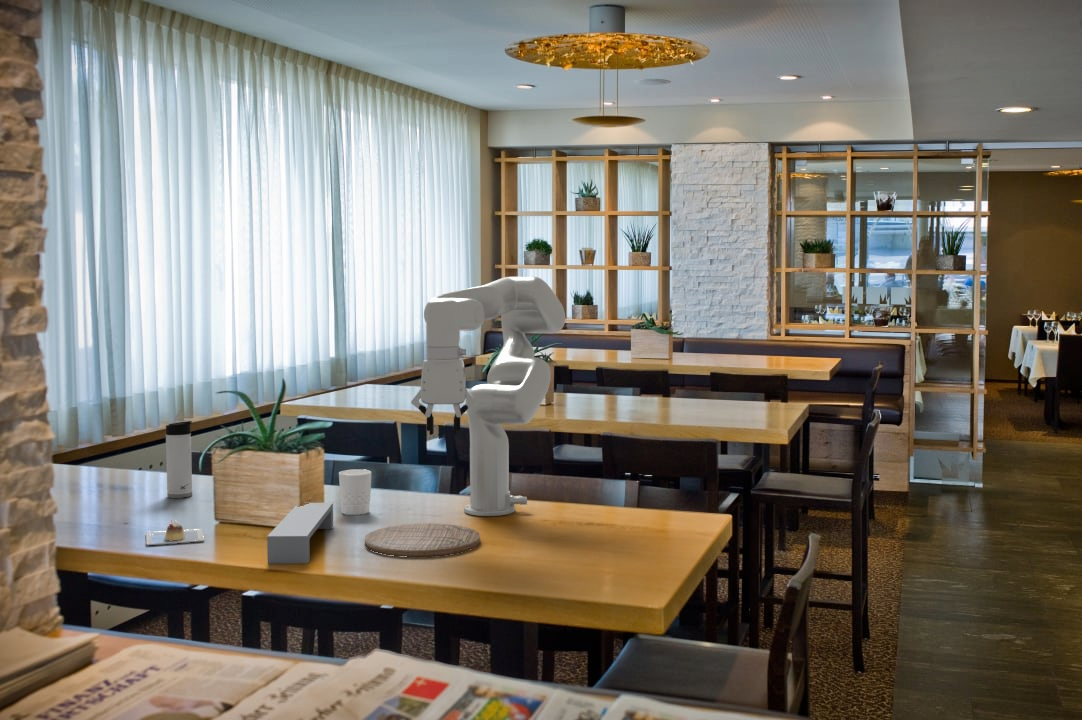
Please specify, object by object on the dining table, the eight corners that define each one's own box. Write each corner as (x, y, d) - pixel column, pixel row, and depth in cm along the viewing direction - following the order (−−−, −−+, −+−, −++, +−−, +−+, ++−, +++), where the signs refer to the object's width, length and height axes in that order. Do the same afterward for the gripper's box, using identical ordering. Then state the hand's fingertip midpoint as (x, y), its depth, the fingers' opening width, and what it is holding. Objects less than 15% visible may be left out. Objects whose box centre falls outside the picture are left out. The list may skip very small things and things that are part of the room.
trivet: (375, 531, 253) (375, 523, 253) (484, 532, 252) (484, 523, 252) (354, 558, 228) (354, 549, 228) (474, 559, 227) (474, 550, 227)
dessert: (146, 537, 248) (145, 516, 248) (201, 532, 252) (201, 512, 252) (146, 549, 237) (145, 527, 236) (204, 545, 241) (204, 523, 240)
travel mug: (189, 498, 288) (187, 422, 286) (163, 498, 288) (161, 422, 286) (196, 494, 294) (195, 419, 293) (172, 494, 294) (170, 419, 293)
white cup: (368, 515, 267) (368, 475, 267) (336, 515, 268) (335, 475, 267) (374, 509, 275) (373, 469, 275) (342, 508, 275) (342, 469, 275)
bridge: (333, 526, 256) (333, 502, 256) (307, 563, 223) (306, 536, 223) (298, 526, 256) (298, 502, 255) (267, 563, 223) (267, 536, 222)
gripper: (481, 353, 253) (481, 431, 254) (407, 353, 253) (407, 431, 254) (480, 355, 246) (480, 436, 247) (403, 355, 245) (404, 436, 247)
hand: (443, 433), depth 250 cm, fingers open, 4 cm apart
